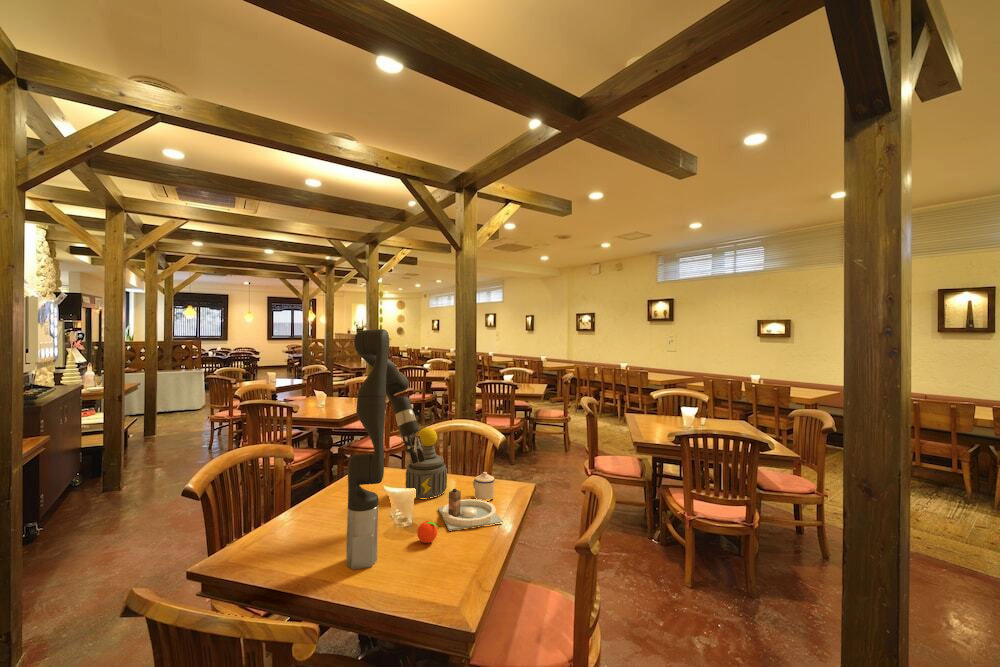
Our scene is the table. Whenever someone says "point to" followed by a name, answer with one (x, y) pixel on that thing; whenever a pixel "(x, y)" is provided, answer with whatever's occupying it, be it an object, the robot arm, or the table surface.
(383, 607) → the table surface
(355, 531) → the robot arm
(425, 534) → the clementine
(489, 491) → the teacup with lid
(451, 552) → the table surface
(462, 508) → the groove dish
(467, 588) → the table surface
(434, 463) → the decorative lamp
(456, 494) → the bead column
